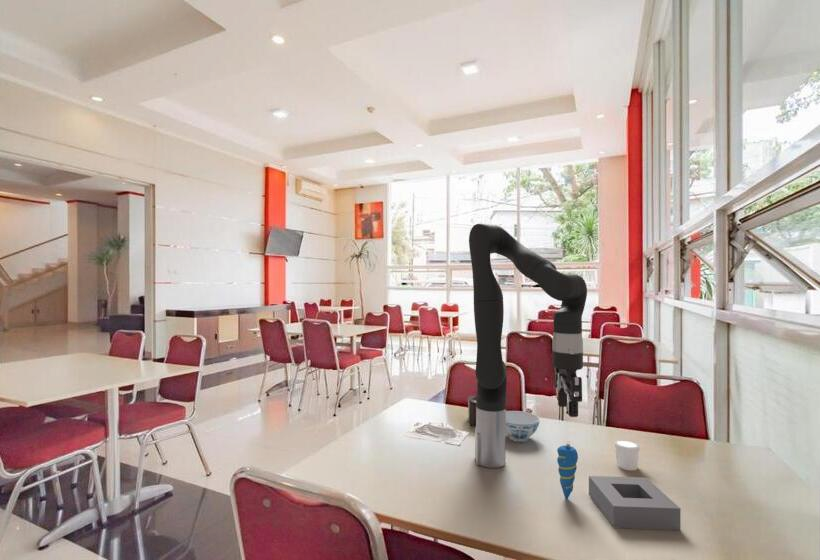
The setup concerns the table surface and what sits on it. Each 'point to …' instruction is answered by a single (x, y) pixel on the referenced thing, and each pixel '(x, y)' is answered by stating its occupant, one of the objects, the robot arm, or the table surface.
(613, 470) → the table surface
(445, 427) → the terrain model
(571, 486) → the ornament
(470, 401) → the pepper mill
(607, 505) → the socket block
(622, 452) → the white short cylinder
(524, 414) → the chinaware
